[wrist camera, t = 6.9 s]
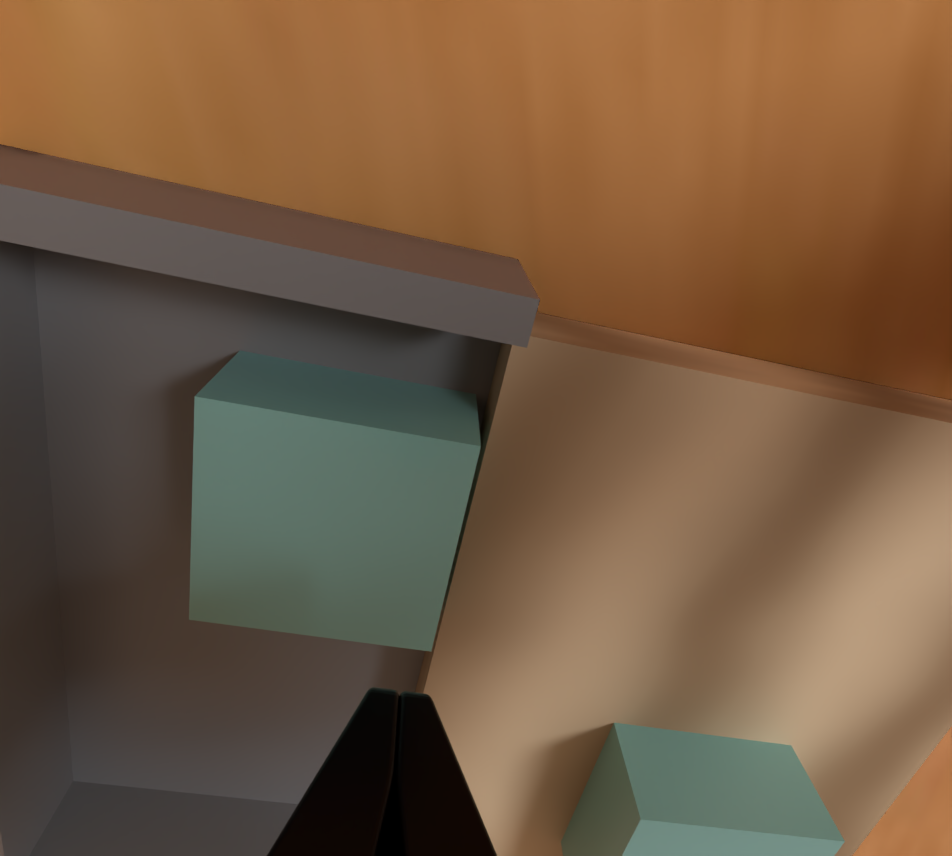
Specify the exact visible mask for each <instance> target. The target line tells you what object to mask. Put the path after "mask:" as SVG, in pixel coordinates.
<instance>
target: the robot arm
mask: <svg viewBox="0 0 952 856" xmlns="http://www.w3.org/2000/svg"><path fill="white" fill-rule="evenodd" d="M267 856H497V854H496V851H495V849H494V847H493V844H492V842H491V839H490V837H489V835H488V832H487V830H486V827H485V825H484V822H483V820H482V818H481V815H480V813H479V810H478V808H477V806H476V803H475V801H474V798H473V796H472V794H471V791H470V789H469V786H468V784H467V781H466V779H465V777H464V774H463V772H462V769H461V767H460V765H459V762H458V760H457V757H456V755H455V752H454V750H453V748H452V745H451V743H450V740H449V738H448V736H447V733H446V731H445V728H444V726H443V724H442V721H441V719H440V716H439V714H438V711H437V709H436V707H435V704H434V702H433V700H432V698H431V697H430V696H429V695H428V694H424V693H416V692H408V691H404V692H402V693H401V694H400V696H399V693H398V692H397V691H396V690H393V689H385V688H377V687H372V688H370V689H369V690H368V691H367V692H366V694H365V695H364V697H363V699H362V700H361V702H360V704H359V705H358V707H357V709H356V710H355V712H354V713H353V715H352V717H351V718H350V720H349V722H348V723H347V725H346V727H345V728H344V730H343V731H342V733H341V735H340V736H339V738H338V740H337V741H336V743H335V745H334V746H333V748H332V749H331V751H330V753H329V754H328V756H327V758H326V759H325V761H324V763H323V764H322V766H321V768H320V769H319V771H318V772H317V774H316V776H315V777H314V779H313V781H312V782H311V784H310V786H309V787H308V789H307V790H306V792H305V794H304V795H303V797H302V799H301V800H300V802H299V804H298V805H297V807H296V808H295V810H294V812H293V813H292V815H291V817H290V818H289V820H288V822H287V823H286V825H285V827H284V828H283V830H282V831H281V833H280V835H279V836H278V838H277V840H276V841H275V843H274V845H273V846H272V848H271V849H270V851H269V853H268V854H267Z"/></svg>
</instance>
